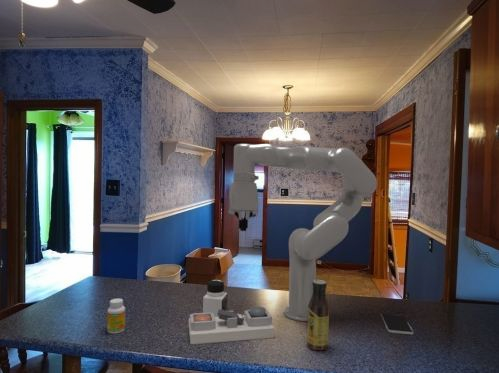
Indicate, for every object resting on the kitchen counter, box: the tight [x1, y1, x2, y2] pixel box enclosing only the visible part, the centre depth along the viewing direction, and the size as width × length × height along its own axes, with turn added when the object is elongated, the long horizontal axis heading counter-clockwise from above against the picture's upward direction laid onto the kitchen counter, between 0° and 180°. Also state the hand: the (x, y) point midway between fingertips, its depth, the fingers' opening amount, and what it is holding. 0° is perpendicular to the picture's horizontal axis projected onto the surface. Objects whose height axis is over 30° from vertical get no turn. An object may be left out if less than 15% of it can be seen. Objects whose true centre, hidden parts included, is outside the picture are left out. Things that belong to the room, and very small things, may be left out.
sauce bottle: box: [306, 279, 330, 351], centre depth 106 cm, size 7×6×20 cm
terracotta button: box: [195, 314, 211, 322], centre depth 113 cm, size 5×5×2 cm
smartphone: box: [380, 313, 414, 335], centre depth 124 cm, size 8×1×15 cm
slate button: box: [249, 305, 266, 318], centre depth 117 cm, size 5×5×2 cm
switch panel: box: [188, 308, 276, 345], centre depth 115 cm, size 26×12×6 cm, turn 102°
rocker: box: [217, 309, 244, 324], centre depth 115 cm, size 8×4×2 cm, turn 102°
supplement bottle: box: [106, 298, 126, 335], centre depth 115 cm, size 5×5×10 cm
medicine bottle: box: [202, 279, 228, 317], centre depth 130 cm, size 7×7×12 cm
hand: (243, 230), depth 127 cm, fingers closed
